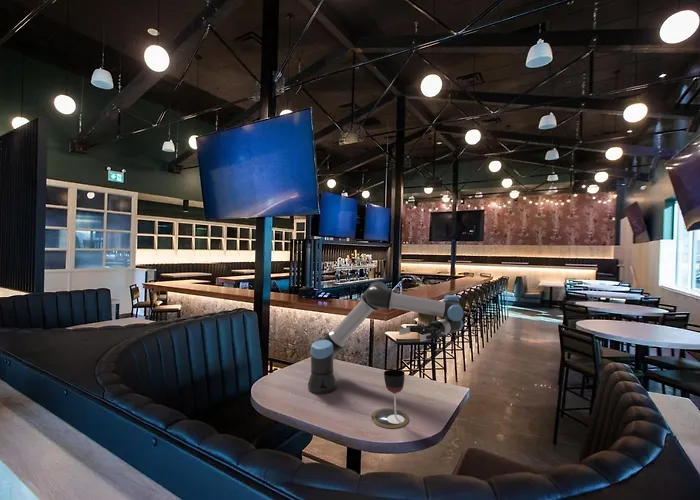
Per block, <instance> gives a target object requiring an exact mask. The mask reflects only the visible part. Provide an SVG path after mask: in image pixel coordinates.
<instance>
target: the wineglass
mask: <svg viewBox="0 0 700 500" xmlns="http://www.w3.org/2000/svg"><path fill="white" fill-rule="evenodd" d="M383 379H384V383H385V387H386V389H387V391H389V393H392V394H393V403H394V409H395V415H390V416H388V417H387V420H388V422H390V423H394V424H399V423H402V422H404V420H405V419H404V417H402V416H400V415H396V409H397V394H399V393H400V392H401V391H402V390H403V388H404V385H405V371H403V370H401V369H386V370H385V371H384V372H383Z"/></svg>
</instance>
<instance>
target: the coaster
mask: <svg viewBox="0 0 700 500" xmlns="http://www.w3.org/2000/svg"><path fill="white" fill-rule="evenodd" d="M390 415H395V409H394V408H393V407H384V408H380V409H379V408H378V409H376V410H375V411H374V412H373V413H372V414H371V421H372V422H373V424H375V425H376V426H378V427H381V428H385V429H400V428H402V427H405V426H406V425H407V424H408V422H409V421H410V419H409V415H408V414H407V413H406V412H405V411H404V410H403V411H402V410H400V409H399V408H396V415H400V416H402V417H404V419H405V420H404V422H402V423H399V424H394V423H390V422H388V420H387V417H388V416H390Z"/></svg>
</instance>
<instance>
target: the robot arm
mask: <svg viewBox="0 0 700 500" xmlns="http://www.w3.org/2000/svg"><path fill="white" fill-rule="evenodd" d="M379 309H383V310H384V309H385V310H392V309H396V310H402V311H406V312H408V311H409V312H413V313H418V314H425V315H430V316H434V317H435V316H436V317H441V318H443V319H438V320H435V321H432V322H430V323H429V325H425V324H416V325H414V324H413V325H411V324H410V325H405V327H404V328H399V330H398V332H399V335H400V336H403V335H406V334H410V333H421V335H419V342H421V343H422V342H425V341H429V340H435V341H439V340H440V338H441V337H444V336H445V335H448V334H452V333H457V332H459V331H461V330H462V329H463V327H464V322H463V317H464V314H465V313H464V310H463V307H462V306H461V305H460V296H458V295H456V294H454V295H453V294H447V295H444V300H443V301H441V300H435V299H430V298H424V297H419V296H413V295H409V294H408V295H407V294H402V293H395V292H394V290H390V289H389V287H388V286H387V284H385V283H384V282H382V281H374V282H372V283H371V284H370V285H369V286H368V288H367V289H366V290H365V291H364V292H363V293H362V294H361V296H360V301H359V302H358V303H357V304H356V305H355V306H354V307H353V309H352V310H351V311H350V312H349V313H348V314H347V315H346V316H345V317H344V318H343V320H342V321H341V322H340V323H339V324H338V325H337V326H336V328H334V329H333V330H329V331H328V332H327V334H326V335H324V337H322V339H320V340H319V339H318V340H317V341H314V342H313V343H312V344H311V346H310V377H309V379H308V383H307V390H308V391H309V392H311V393H312V394H313V393H314V394H318V395H319V394H322V395H323V394H328V393H332V392H334V391H336V389H337V388H338V381H337V380H336V376H335V373H334V360H335V358H336V356H337V355H338V354H339V352H340V351H342V350H343V348H344V347H345V345H346V344H345V342H346V340H348V339H349V337H350V336H352V335H353V333H354V332H355V331H356V330H357V328H359V327H360V325H361V324H362V323H363V322H364V321H365V320H366V319H367V318H368V316H369V315H370V314H371V313H372V312H377V311H379Z"/></svg>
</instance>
